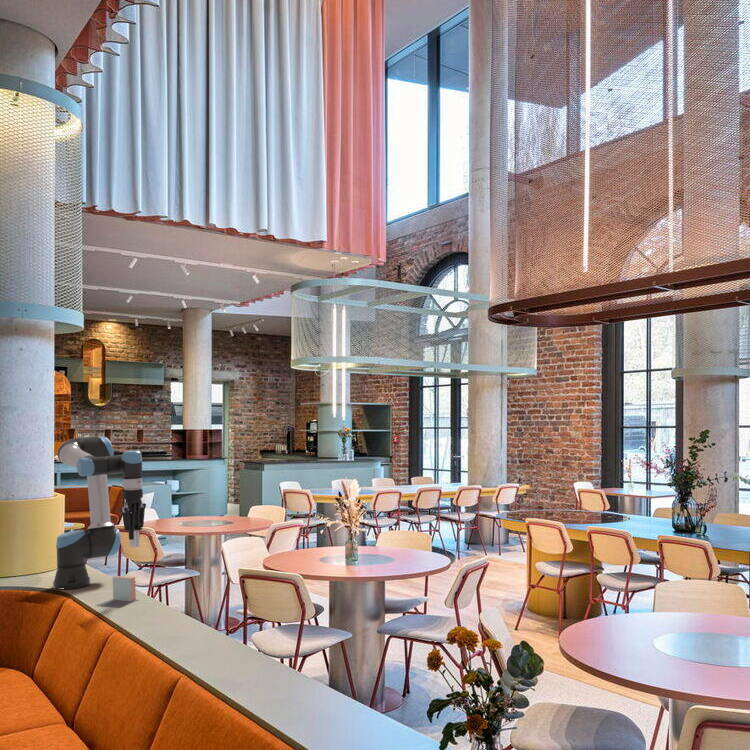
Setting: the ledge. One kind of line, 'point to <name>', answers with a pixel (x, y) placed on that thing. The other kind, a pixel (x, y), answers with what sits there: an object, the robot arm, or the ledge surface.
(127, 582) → the block
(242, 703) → the ledge surface
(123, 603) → the mat
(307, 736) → the ledge surface
